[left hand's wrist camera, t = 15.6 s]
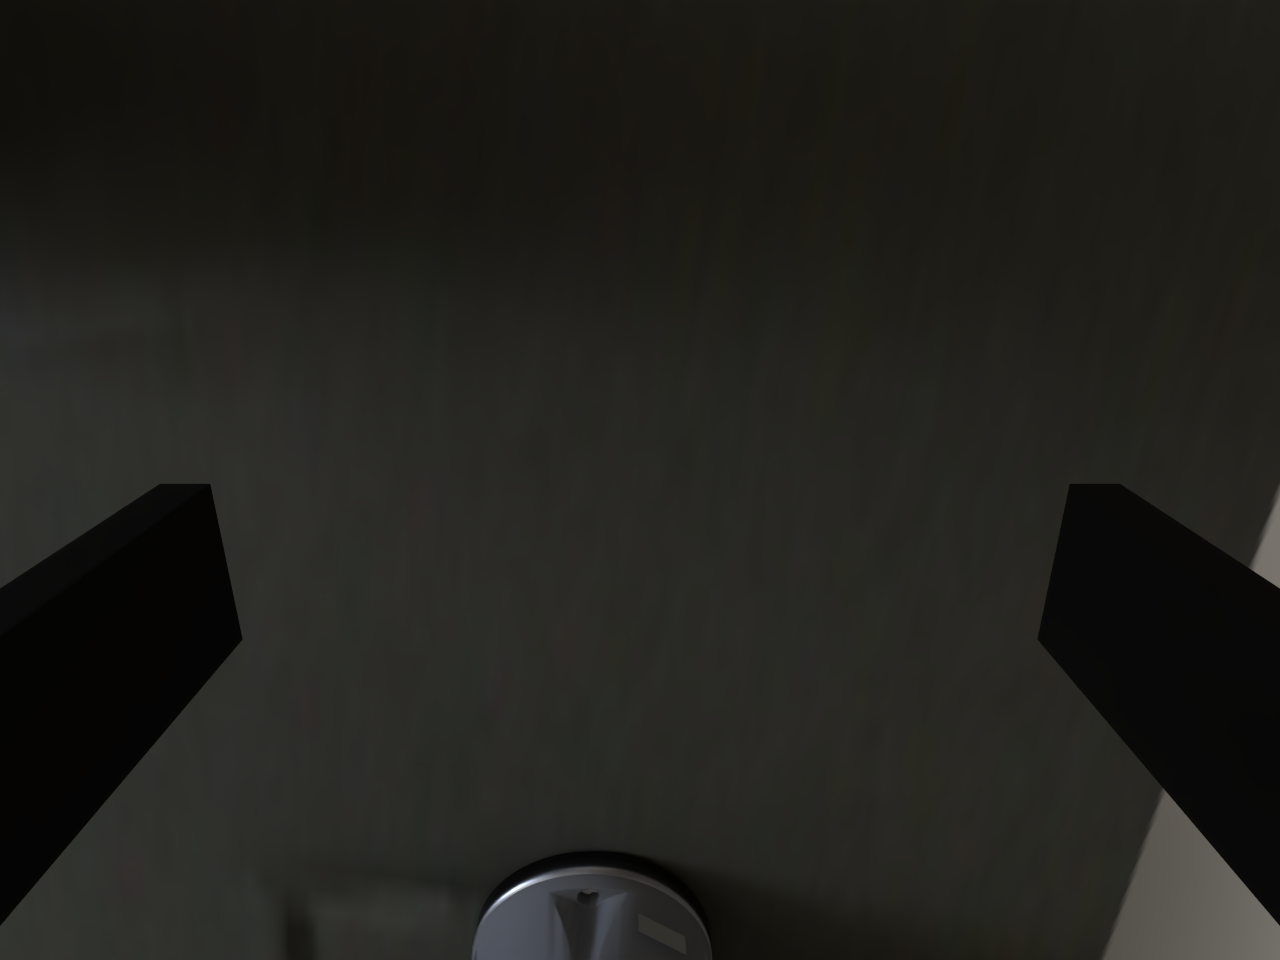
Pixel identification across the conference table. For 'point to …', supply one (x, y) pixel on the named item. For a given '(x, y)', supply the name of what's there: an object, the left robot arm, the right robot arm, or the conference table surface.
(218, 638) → the left robot arm
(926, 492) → the conference table surface
